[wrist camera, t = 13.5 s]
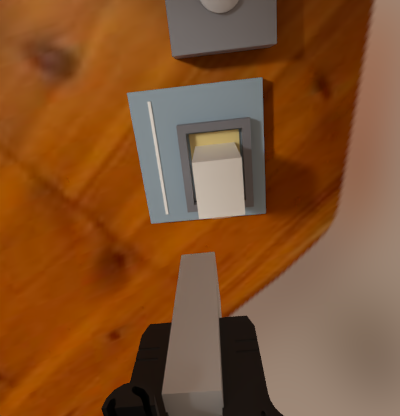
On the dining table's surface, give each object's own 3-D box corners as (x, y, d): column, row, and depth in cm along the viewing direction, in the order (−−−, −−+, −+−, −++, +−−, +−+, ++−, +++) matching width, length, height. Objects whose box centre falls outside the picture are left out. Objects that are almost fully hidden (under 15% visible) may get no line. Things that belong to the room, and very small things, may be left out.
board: (129, 92, 30) (123, 93, 28) (260, 77, 29) (264, 76, 27) (152, 219, 35) (149, 228, 33) (264, 209, 35) (268, 217, 32)
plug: (195, 146, 31) (191, 162, 24) (234, 141, 30) (241, 157, 24) (201, 199, 33) (200, 227, 26) (238, 195, 33) (245, 223, 26)
